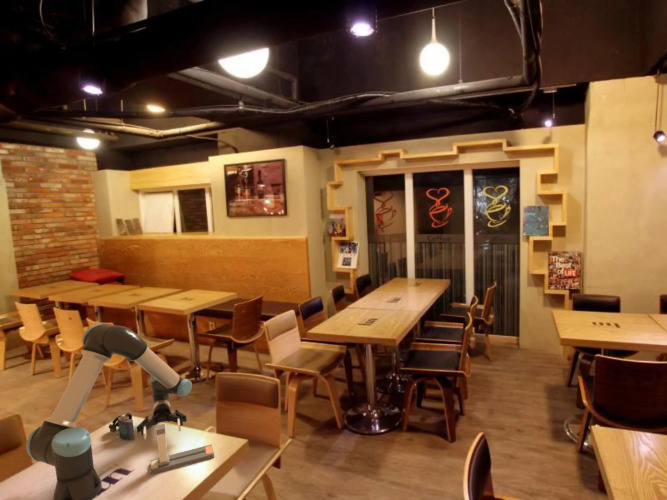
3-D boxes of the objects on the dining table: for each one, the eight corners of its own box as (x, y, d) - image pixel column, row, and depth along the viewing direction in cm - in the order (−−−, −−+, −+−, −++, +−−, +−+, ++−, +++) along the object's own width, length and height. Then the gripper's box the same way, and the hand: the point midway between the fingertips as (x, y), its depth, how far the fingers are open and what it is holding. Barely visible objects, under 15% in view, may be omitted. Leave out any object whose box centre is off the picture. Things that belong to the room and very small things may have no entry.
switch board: (150, 474, 163) (150, 470, 163) (151, 463, 170) (150, 459, 170) (214, 457, 172) (213, 453, 172) (211, 447, 179) (211, 444, 179)
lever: (158, 466, 165) (154, 431, 164) (158, 458, 170) (155, 425, 169) (169, 463, 166) (165, 428, 165) (169, 456, 172) (165, 422, 170)
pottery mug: (129, 436, 194) (117, 424, 192) (114, 444, 196) (102, 432, 194) (141, 417, 205) (130, 405, 203) (127, 424, 207) (116, 413, 205)
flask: (136, 438, 191) (133, 416, 190) (130, 441, 188) (127, 419, 187) (123, 434, 195) (120, 412, 194) (117, 437, 193) (114, 415, 191)
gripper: (190, 412, 201) (194, 433, 181) (133, 425, 191) (130, 448, 172) (189, 397, 200) (192, 416, 180) (131, 409, 190) (128, 431, 171)
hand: (162, 432), depth 176 cm, fingers open, 13 cm apart
